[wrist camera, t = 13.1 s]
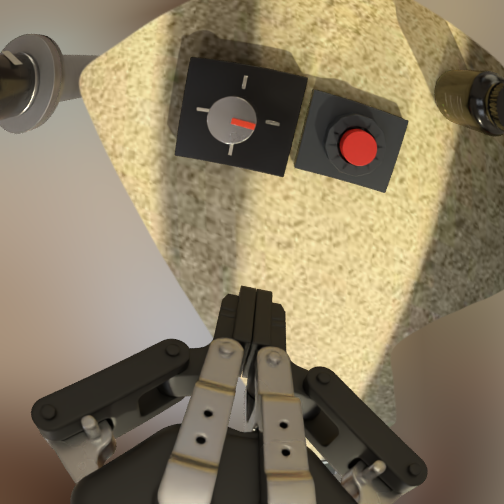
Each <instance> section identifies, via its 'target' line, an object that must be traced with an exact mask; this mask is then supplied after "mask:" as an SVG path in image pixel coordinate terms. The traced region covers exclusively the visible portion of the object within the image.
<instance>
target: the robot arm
mask: <svg viewBox="0 0 504 504" xmlns="http://www.w3.org/2000/svg"><path fill="white" fill-rule="evenodd" d="M2 53H3V54H1V55H0V120H4V119H7V118H10V117H16V116H19V115H22V114H24V113H25V112H27V111H28V110H29V109H30V107H31V106H32V104H33V103H34V101H35V99H36V96H37V94H38V90H39V85H40V71H39V67H38V64H37V61H36V60H35V58H34V57H33V56H32V55H31V54H29V53H25V52H20V53H14V54H12V53H11V52H10V51H2ZM285 320H286V318H285V311H284V309H283V307H282V305H281V304H277V303H272V292H271V291H266V290H261V289H257V290H256V288H251V287H246V286H241V288H240V292H239V296H237V295H232V294H227V295H226V296H225V297H224V298H223V299H222V303H221V308H220V312H219V316H218V321H217V325H216V330H215V334H214V338H213V340H212V342H211V343H210V344H209V345H207V346H205V347H201V348H189V347H188V346H187V345H186V344H185V343H184V342H182V341H180V340H177V339H166V340H163V341H161V342H159V343H157V344H155V345H153V346H151V347H149V348H147V349H145V350H143V351H141V352H139V353H137V354H135V355H133V356H131V357H129V358H126V359H124V360H122V361H120V362H118V363H116V364H114V365H112V366H110V367H108V368H106V369H104V370H101V371H99V372H97V373H95V374H93V375H91V376H89V377H87V378H85V379H83V380H80V381H78V382H76V383H74V384H72V385H69V386H67V387H65V388H63V389H61V390H59V391H56V392H54V393H52V394H50V395H47V396H45V397H43V398H41V399H39V400H38V401H36V403H35V404H34V405H33V407H32V411H31V416H32V420H33V421H34V423H35V424H36V426H37V428H38V429H39V431H40V433H41V435H42V436H43V437H44V439H45V440H46V441H47V443H48V444H49V445H50V446H51V448H52V449H54V450H55V452H56V453H57V455H58V457H59V458H60V460H61V462H62V463H63V465H64V466H65V468H66V469H67V471H68V473H69V474H70V475H71V477H72V479H73V480H74V482H75V483H76V486H75V487H74V489H73V492H72V495H71V504H393V503H394V502H395V501H396V500H397V499H398V498H399V497H400V496H402V495H403V494H405V493H407V492H409V491H410V490H412V489H414V488H415V487H417V486H419V485H420V484H422V483H423V482H424V481H425V479H426V477H427V467H426V464H425V463H424V461H423V460H422V459H421V458H420V457H419V456H418V455H417V454H416V453H414V451H412V450H411V449H410V448H409V447H408V446H407V445H406V444H405V443H404V442H403V441H402V440H401V439H400V438H399V437H398V436H397V435H396V434H395V433H394V432H393V431H392V430H391V429H390V428H389V427H388V426H387V425H386V424H385V423H384V422H383V421H382V420H381V419H380V418H379V417H378V416H377V415H376V414H375V413H374V412H373V411H372V410H371V409H370V408H369V407H368V406H367V405H366V404H365V403H364V402H363V401H362V400H361V399H360V398H359V397H358V396H357V395H356V394H355V393H354V392H353V391H352V390H351V389H350V388H349V387H348V386H347V385H346V384H345V383H344V382H343V381H342V380H341V379H340V378H339V377H338V376H337V375H336V374H335V373H334V372H333V371H331V370H330V369H328V368H325V367H320V366H319V367H314V368H312V369H310V370H309V371H308V370H306V369H304V368H301V367H299V366H297V365H295V364H294V363H293V362H292V361H291V360H290V358H289V356H288V354H287V353H286V328H285V327H286V322H285ZM242 371H243V373H242ZM241 374H242V377H244V378H248V379H247V386H246V389H245V395H244V431H243V432H240V431H237V430H235V429H232V428H229V427H228V423H229V419H230V414H231V410H232V406H233V401H234V397H235V392H236V384H237V381H238V377H241ZM185 396H191V398H190V401H189V404H188V407H187V409H186V412H185V415H184V419H183V421H182V423H181V424H175V425H171V426H168V427H165V428H163V429H161V430H160V431H158V432H156V433H155V434H153V435H152V436H150V437H149V438H147V439H146V440H144V441H143V442H141V443H139V444H138V445H136V446H135V447H133V448H132V449H130V450H129V451H127V452H125V453H124V454H122V455H120V456H119V457H117V458H116V459H114V460H112V461H111V462H109V463H108V464H106V465H104V463H105V461H106V460H107V459H108V458H109V457H111V456H112V455H113V454H114V452H115V450H116V440H115V439H116V438H118V437H120V436H122V435H123V434H125V433H127V432H129V431H130V430H132V429H134V428H136V427H137V426H139V425H141V424H143V423H144V422H146V421H148V420H149V419H151V418H153V417H155V416H156V415H158V414H160V413H161V412H163V411H164V410H166V409H168V408H169V407H171V406H173V405H174V404H176V403H178V402H179V401H181V400H182V399H183V398H184V397H185ZM305 437H306V438H307V439H308V440H309V442H310V443H311V444H312V445H313V446H314V447H315V448H316V449H317V451H318V452H319V453H320V454H321V455H322V456H323V457H324V458H325V459H326V461H327V462H328V463H329V464H330V465H331V466H332V467H333V468H334V469H335V470H336V471H337V473H338V474H339V475H340V476H341V477H342V478H341V483H340V482H339V481H338V480H337V479H336V478H335V477H334V475H333V474H332V473H331V472H330V471H329V470H328V468H327V467H326V466H325V465H324V464H323V463H322V461H321V460H320V459H319V458H318V457H317V455H316V454H315V453H314V452H313V451H312V450H311V449H309V448H308V447H307V446H306V439H305Z"/></svg>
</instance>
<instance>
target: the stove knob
mask: <svg viewBox="0 0 504 504" xmlns="http://www.w3.org/2000/svg"><path fill="white" fill-rule="evenodd" d="M258 122H259V110H258V107H257V105H256V104H255V103H254V101H253V100H251V99H250V98H248V97H246V96H243V95H233V96H228V97H224V98H222V99H220V100H218V101H216V102H215V103H214V104H213V105H212V106H211V108H210V110H209V112H208V115H207V125H208V128H209V131H210V132H211V134H212V135H213V136H214V137H215V138H216V139H217V140H219V141H221V142H223V143H227V144H237V143H241V142H243V141H245V140H246V139H248V138H249V137H250V136H251V135H252V133H253V132H254V130H255V128H256V126H257V124H258Z"/></svg>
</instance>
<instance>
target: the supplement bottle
mask: <svg viewBox="0 0 504 504" xmlns="http://www.w3.org/2000/svg"><path fill="white" fill-rule="evenodd" d="M435 100H436V103H437V106H438V108H439V110H440V112H441V113H442V114H443V115H444V116H445V117H446V118H447V119H448V120H450V121H451V122H453V123H456V124H459V125H462V126H464V127H467V128H470V129H473V130H475V131H478V132H481V133H483V134H486V135H489V136H501V135H503V134H504V78H503V77H502V76H500V75H498V74H497V73H494V72H490V71H477V70H450V71H447V72H445V73H444V74H442V75H441V76H440V78H439V79H438V81H437V83H436V86H435Z"/></svg>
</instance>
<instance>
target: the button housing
mask: <svg viewBox="0 0 504 504" xmlns="http://www.w3.org/2000/svg"><path fill="white" fill-rule="evenodd" d="M407 125H408V120H405V119H403V118H400V117H397V116H395V115H392V114H390V113H387V112H384V111H381V110H379V109H376V108H373V107H370V106H367V105H364V104H361V103H358V102H355V101H352V100H349V99H346V98H342V97H339V96H336V95H332V94H329V93H326V92H322V91H318V90H314V89H313V90H312V95H311V99H310V103H309V107H308V111H307V115H306V119H305V123H304V126H303V130H302V134H301V138H300V142H299V146H298V150H297V154H296V158H295V162H294V167H295V168H297V169H301V170H305V171H309V172H313V173H317V174H321V175H324V176H328V177H332V178H335V179H339V180H343V181H346V182H350V183H353V184H357V185H360V186H364V187H367V188H370V189H374V190H377V191H380V192H383V193H385V192H386V189H387V186H388V183H389V181H390V178H391V175H392V172H393V169H394V166H395V163H396V160H397V157H398V154H399V151H400V147H401V144H402V141H403V138H404V135H405V131H406V128H407ZM351 129H361V130H363V131H365V132H367V133H369V134H370V135H371V136H372V137H373V138H374V140H375V141H376V144H377V153H376V156H375V158H374V159H373V160H372V161H371V162H370V163H368V164H366V165H363V166H357V165H353V164H351V163H350V162H348V161H347V159H346V158H345V157H344V156H343V155H342V153H341V150H340V140H341V137H342V136H343V134H344V133H345V132H347V131H348V130H351Z"/></svg>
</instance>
